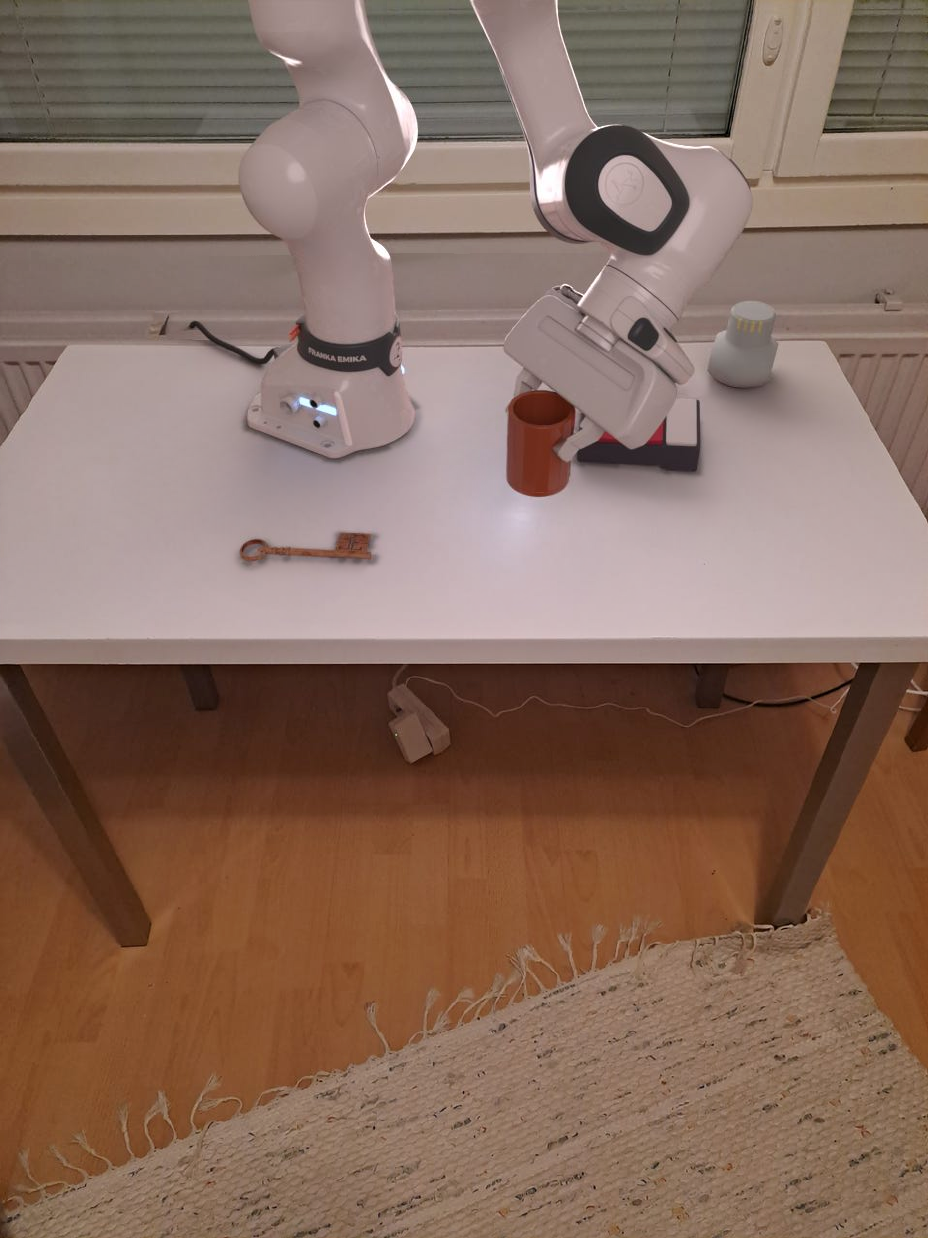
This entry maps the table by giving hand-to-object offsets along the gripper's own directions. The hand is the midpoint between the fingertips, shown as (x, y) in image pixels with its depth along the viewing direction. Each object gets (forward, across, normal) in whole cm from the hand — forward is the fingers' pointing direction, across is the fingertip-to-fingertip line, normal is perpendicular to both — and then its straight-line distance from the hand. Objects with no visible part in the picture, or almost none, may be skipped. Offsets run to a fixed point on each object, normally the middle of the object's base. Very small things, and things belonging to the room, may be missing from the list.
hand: (535, 436), depth 92 cm
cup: (+3, 0, +4) cm, 5 cm away
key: (+26, -15, -3) cm, 30 cm away
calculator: (-6, -10, +29) cm, 31 cm away
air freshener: (-21, -14, +44) cm, 51 cm away
